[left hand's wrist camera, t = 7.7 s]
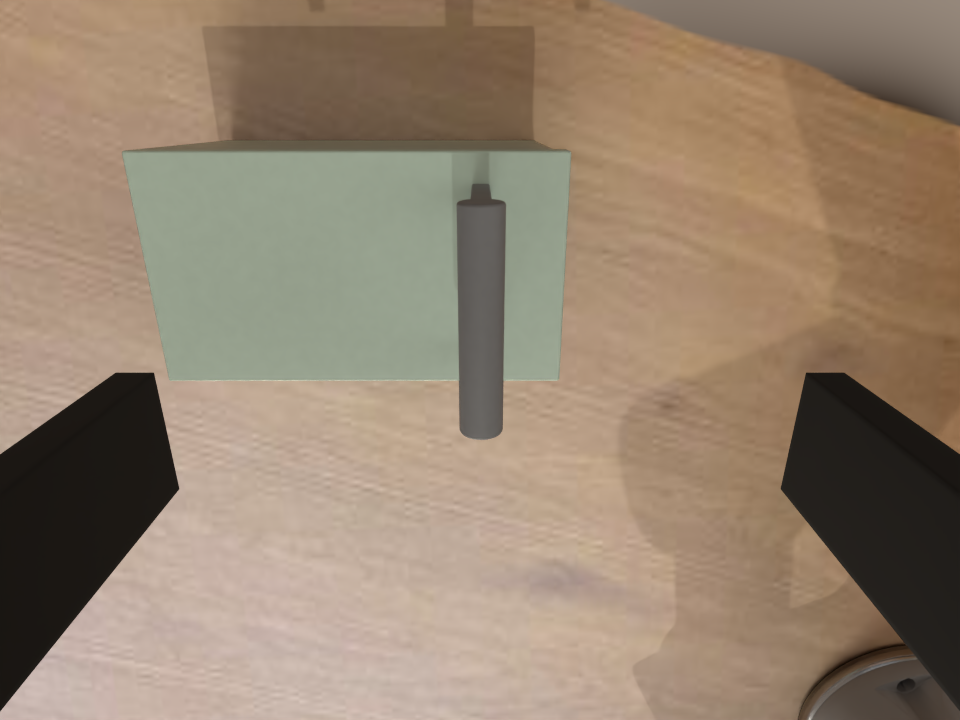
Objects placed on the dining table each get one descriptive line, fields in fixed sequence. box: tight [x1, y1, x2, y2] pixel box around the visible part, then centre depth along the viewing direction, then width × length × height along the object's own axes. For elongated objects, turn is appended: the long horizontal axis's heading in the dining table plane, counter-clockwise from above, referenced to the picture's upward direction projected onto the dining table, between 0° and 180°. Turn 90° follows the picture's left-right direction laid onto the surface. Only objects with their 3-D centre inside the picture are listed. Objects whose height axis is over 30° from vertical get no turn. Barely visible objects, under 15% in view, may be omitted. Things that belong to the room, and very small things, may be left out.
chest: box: [147, 140, 551, 149], centre depth 31 cm, size 17×10×10 cm, turn 90°
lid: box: [122, 149, 571, 440], centre depth 22 cm, size 17×10×8 cm, turn 90°
